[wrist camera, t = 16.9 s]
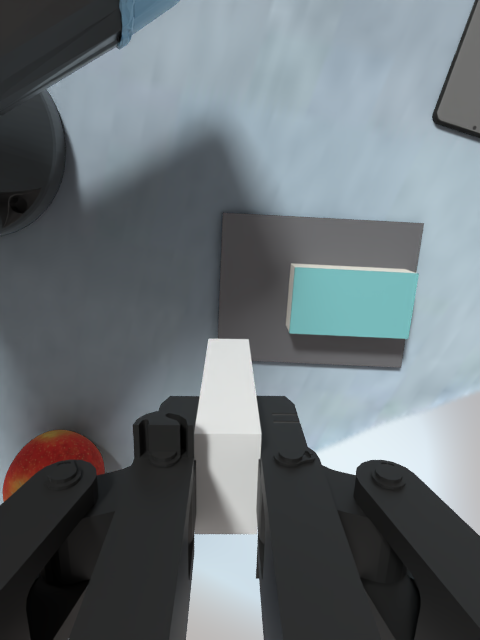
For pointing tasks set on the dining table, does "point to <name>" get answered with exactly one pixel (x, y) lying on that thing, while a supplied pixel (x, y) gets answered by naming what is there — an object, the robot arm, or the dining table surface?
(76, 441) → the apple
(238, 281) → the mat
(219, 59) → the dining table surface
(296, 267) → the teal white block
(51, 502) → the robot arm
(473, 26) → the smartphone
